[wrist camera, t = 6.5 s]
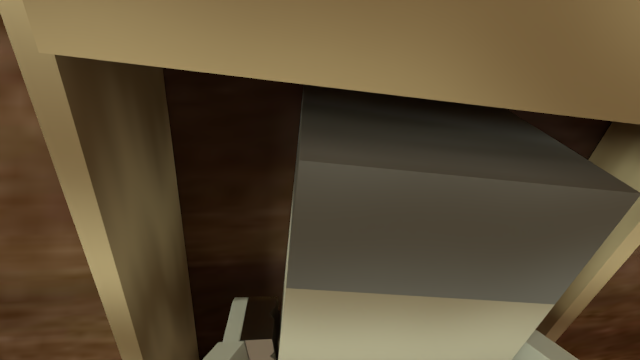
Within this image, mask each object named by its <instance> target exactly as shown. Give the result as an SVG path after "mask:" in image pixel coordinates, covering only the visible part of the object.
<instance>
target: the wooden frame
mask: <svg viewBox="0 0 640 360" xmlns="http://www.w3.org/2000/svg"><path fill="white" fill-rule="evenodd" d="M0 13H1V16H2V19H3V22H4V25H5V27H6V30H7V33H8V36H9V39H10V42H11V45H12V47H13V50H14V53H15V56H16V59H17V62H18V64H19V67H20V70H21V73H22V76H23V79H24V82H25V84H26V87H27V90H28V93H29V96H30V99H31V101H32V104H33V107H34V110H35V113H36V116H37V119H38V121H39V124H40V127H41V130H42V133H43V136H44V139H45V141H46V144H47V147H48V150H49V153H50V156H51V158H52V161H53V164H54V167H55V170H56V173H57V176H58V178H59V181H60V184H61V187H62V190H63V193H64V195H65V198H66V201H67V204H68V207H69V210H70V213H71V215H72V218H73V221H74V224H75V227H76V230H77V233H78V235H79V238H80V241H81V244H82V247H83V250H84V252H85V255H86V258H87V261H88V264H89V267H90V270H91V272H92V275H93V278H94V281H95V284H96V287H97V289H98V292H99V295H100V298H101V301H102V304H103V307H104V309H105V312H106V315H107V318H108V321H109V324H110V327H111V329H112V332H113V335H114V338H115V341H116V344H117V346H118V349H119V352H120V355H121V358H122V360H199V353H198V345H197V337H196V329H195V321H194V313H193V305H192V297H191V289H190V281H189V273H188V265H187V257H186V249H185V241H184V234H183V226H182V218H181V210H180V202H179V194H178V186H177V178H176V170H175V162H174V154H173V146H172V138H171V130H170V122H169V114H168V107H167V99H166V91H165V83H164V75H163V68H171V69H180V70H188V71H196V72H205V73H213V74H221V75H230V76H238V77H247V78H255V79H263V80H272V81H280V82H288V83H297V84H305V85H313V86H322V87H330V88H339V89H347V90H355V91H364V92H372V93H380V94H389V95H397V96H405V97H414V98H422V99H431V100H439V101H447V102H456V103H464V104H472V105H481V106H489V107H497V108H506V109H514V110H523V111H531V112H539V113H548V114H556V115H564V116H573V117H581V118H589V119H598V120H606V121H613V122H612V123H611V125H610V127H609V128H608V130H607V131H606V133H605V134H604V136H603V138H602V139H601V141H600V142H599V144H598V145H597V147H596V149H595V150H594V152H593V153H592V155H591V156H590V158H589V161H590V162H592V163H593V164H595V165H597V166H598V167H600V168H601V169H603V170H605V171H606V172H608V173H609V174H611V175H613V176H614V177H616V178H617V179H619V180H621V181H622V182H624V183H625V184H627V185H629V186H630V187H632V188H633V189H635V190H637V191H638V192H640V0H0ZM639 245H640V197H639V198H638V199H637V200H636V202H635V203H634V204H633V205H632V207H631V208H630V209H629V211H628V212H627V213H626V214H625V216H624V217H623V218H622V220H621V221H620V222H619V223H618V225H617V226H616V227H615V228H614V230H613V231H612V232H611V234H610V235H609V236H608V237H607V239H606V240H605V241H604V242H603V244H602V245H601V246H600V248H599V249H598V250H597V251H596V253H595V254H594V255H593V257H592V258H591V259H590V260H589V262H588V263H587V264H586V265H585V267H584V268H583V269H582V271H581V272H580V273H579V274H578V276H577V277H576V278H575V280H574V281H573V282H572V283H571V285H570V286H569V287H568V288H567V290H566V291H565V292H564V294H563V295H562V296H561V297H560V299H559V300H558V301H557V302H556V304H555V305H554V306H553V308H552V309H551V310H550V311H549V313H548V314H547V315H546V317H545V318H544V319H543V320H542V322H541V323H540V324H539V325H538V327H537V328H536V329H535V330H537V331H539V332H540V333H542V334H543V335H544V336H546V337H547V338H549V339H550V340H551V341H553V342H554V343H555V342H556V341H557V339H558V338H559V337H560V336H561V335H562V334H563V332H564V331H565V330H566V329H567V328H568V327H569V326H570V324H571V323H572V322H573V321H574V320H575V319H576V317H577V316H578V315H579V314H580V313H581V312H582V311H583V309H584V308H585V307H586V306H587V305H588V304H589V302H590V301H591V300H592V299H593V298H594V297H595V296H596V294H597V293H598V292H599V291H600V290H601V289H602V287H603V286H604V285H605V284H606V283H607V282H608V281H609V279H610V278H611V277H612V276H613V275H614V274H615V272H616V271H617V270H618V269H619V268H620V267H621V265H622V264H623V263H624V262H625V261H626V260H627V259H628V257H629V256H630V255H631V254H632V253H633V252H634V250H635V249H636V248H637V247H638V246H639Z"/></svg>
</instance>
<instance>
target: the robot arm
mask: <svg viewBox="0 0 640 360" xmlns="http://www.w3.org/2000/svg"><path fill="white" fill-rule="evenodd" d="M278 307H279V301H278V297H235V298H234V300H233V302H232V305H231V310H230V314H229V318H228V322H227V326H226V330H225V334H224V338H223V342H218V343H217V344H216V345H215V346H214V347H213V349H212V350H211V351H210V352H209V353H208V354H207V355H206V356H205V357H204V358H203V360H278V350H279V348H278V341H279V338H280V326H281V317H280V311H279V310H278ZM512 360H579V359H577V358H576V357H574V356H573V355H571V354H570V353H569V352H567V351H566V350H564V349H563V348H561V347H560V346H559V345H557V344H556V343H554V342H553V341H551V340H550V339H549V338H547V337H546V336H544V335H543V334H542V333H540V332H539V331H537V330H535V331H534V332H533V333H532V334H531V336H530V337H529V338H528V340H527V341H526V342H525V343H524V345H523V346H522V347H521V348H520V350H519V351H518V352H517V354H516V355H515V356H514V357H513V359H512Z"/></svg>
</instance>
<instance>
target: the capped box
mask: <svg viewBox="0 0 640 360" xmlns="http://www.w3.org/2000/svg"><path fill="white" fill-rule="evenodd" d="M639 197H640V192H638V191H637V190H635V189H633V188H632V187H630V186H629V185H627V184H625V183H624V182H622V181H621V180H619V179H617V178H616V177H614V176H613V175H611V174H609V173H608V172H606V171H605V170H603V169H601V168H600V167H598V166H597V165H595V164H593V163H592V162H590V161H589V160H587V159H585V158H584V157H582V156H581V155H579V154H577V153H576V152H574V151H573V150H571V149H569V148H568V147H566V146H565V145H563V144H561V143H560V142H558V141H557V140H555V139H553V138H552V137H550V136H549V135H547V134H545V133H544V132H542V131H541V130H539V129H537V128H536V127H534V126H533V125H531V124H529V123H528V122H526V121H525V120H523V119H521V118H520V117H518V116H517V115H515V114H513V113H512V112H510V111H509V110H507V109H505V108H497V107H489V106H481V105H472V104H464V103H456V102H447V101H439V100H431V99H422V98H414V97H405V96H397V95H389V94H380V93H372V92H364V91H355V90H347V89H339V88H330V87H322V86H313V85H305V84H304V85H303V95H302V105H301V115H300V125H299V136H298V146H297V156H296V166H295V176H294V187H293V197H292V207H291V217H290V227H289V237H288V248H287V258H286V268H285V278H284V288H283V299H282V309H281V326H280V338H279V341H278V348H279V350H278V360H512V359H513V357H514V356H515V355H516V354H517V352H518V351H519V350H520V348H521V347H522V346H523V345H524V343H525V342H526V341H527V340H528V338H529V337H530V336H531V334H532V333H533V332H534V331H535V329H536V328H537V327H538V325H539V324H540V323H541V322H542V320H543V319H544V318H545V317H546V315H547V314H548V313H549V311H550V310H551V309H552V308H553V306H554V305H555V304H556V302H557V301H558V300H559V299H560V297H561V296H562V295H563V294H564V292H565V291H566V290H567V288H568V287H569V286H570V285H571V283H572V282H573V281H574V280H575V278H576V277H577V276H578V274H579V273H580V272H581V271H582V269H583V268H584V267H585V265H586V264H587V263H588V262H589V260H590V259H591V258H592V257H593V255H594V254H595V253H596V251H597V250H598V249H599V248H600V246H601V245H602V244H603V242H604V241H605V240H606V239H607V237H608V236H609V235H610V234H611V232H612V231H613V230H614V228H615V227H616V226H617V225H618V223H619V222H620V221H621V220H622V218H623V217H624V216H625V214H626V213H627V212H628V211H629V209H630V208H631V207H632V205H633V204H634V203H635V202H636V200H637V199H638V198H639Z"/></svg>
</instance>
